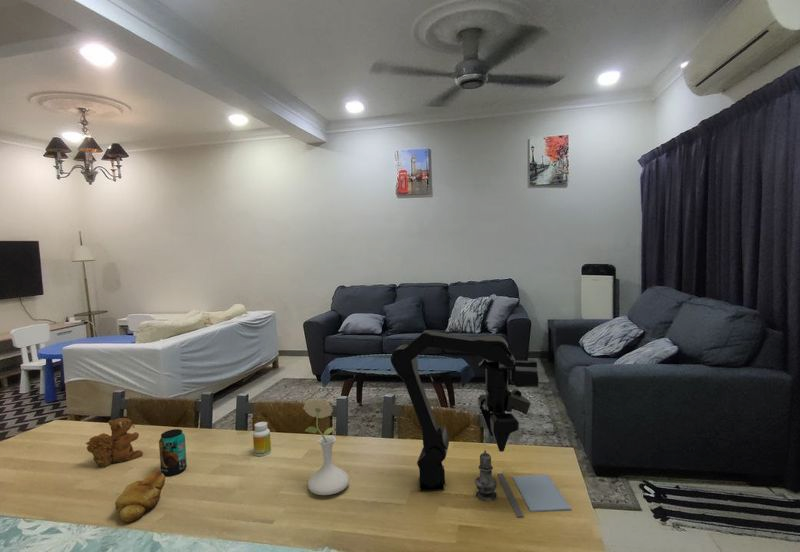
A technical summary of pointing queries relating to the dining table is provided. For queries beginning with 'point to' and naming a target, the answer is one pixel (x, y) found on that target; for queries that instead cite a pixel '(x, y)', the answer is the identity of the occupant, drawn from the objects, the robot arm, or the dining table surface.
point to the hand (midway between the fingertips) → (496, 443)
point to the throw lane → (535, 494)
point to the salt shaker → (486, 479)
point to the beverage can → (172, 452)
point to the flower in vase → (325, 454)
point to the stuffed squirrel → (114, 444)
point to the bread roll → (140, 497)
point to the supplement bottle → (261, 439)
